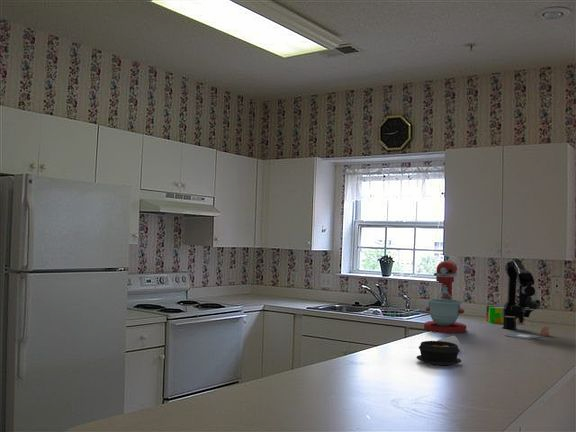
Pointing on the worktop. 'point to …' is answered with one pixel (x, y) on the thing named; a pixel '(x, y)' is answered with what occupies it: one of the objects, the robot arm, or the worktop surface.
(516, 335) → the board
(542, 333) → the brown rounded lump
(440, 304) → the stand mixer
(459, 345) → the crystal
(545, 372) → the worktop surface
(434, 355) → the casserole
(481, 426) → the worktop surface
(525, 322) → the oak block
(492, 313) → the puzzle toy
